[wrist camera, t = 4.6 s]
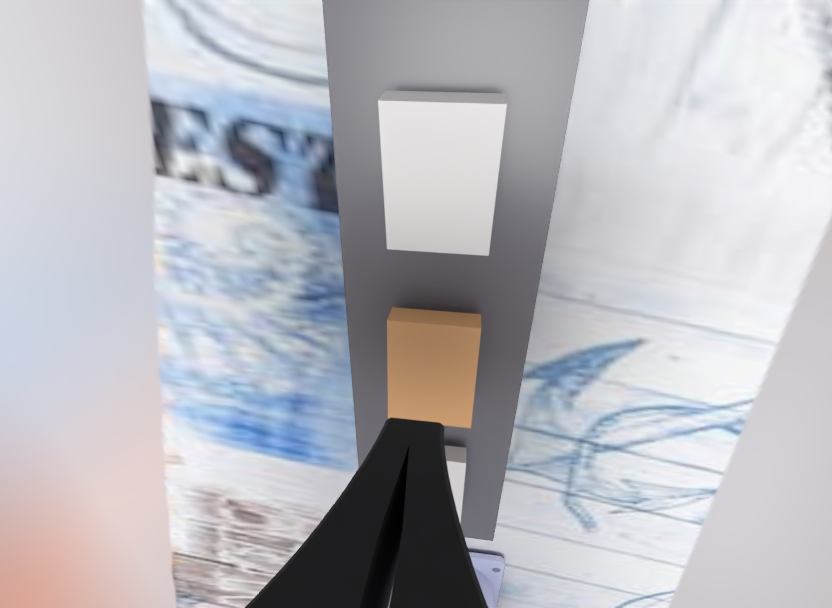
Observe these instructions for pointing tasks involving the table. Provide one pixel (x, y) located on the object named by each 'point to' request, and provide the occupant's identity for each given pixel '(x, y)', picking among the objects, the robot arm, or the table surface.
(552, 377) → the table surface
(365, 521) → the robot arm
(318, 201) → the table surface
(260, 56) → the table surface
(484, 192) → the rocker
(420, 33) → the power strip
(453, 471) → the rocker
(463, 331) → the peach rectangular tile
